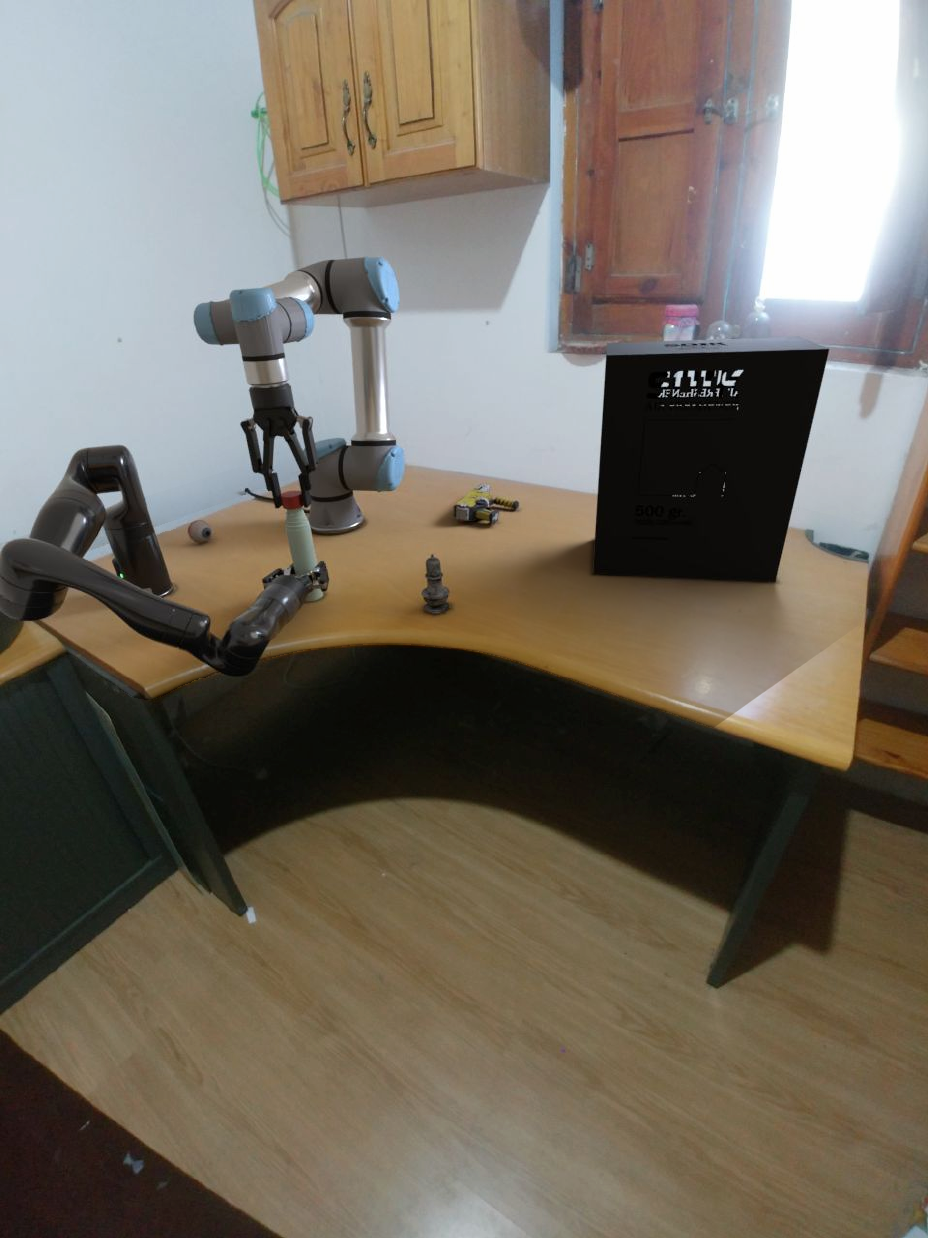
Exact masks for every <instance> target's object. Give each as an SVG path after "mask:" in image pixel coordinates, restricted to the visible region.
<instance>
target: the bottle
mask: <svg viewBox="0 0 928 1238" xmlns="http://www.w3.org/2000/svg"><path fill="white" fill-rule="evenodd" d="M303 509H304V508H303ZM303 509H302V507H301V508H298V509H286V511H285V514H286V515H285V524H284V525H285V533H286V537H287V541H288V547H289V551H290V554H291V555H290V556H291V561H292V563H293V566H294V570H295V574H296V575H299V574H300V575H301V574H302V573H304V572H306V571H307V570H313V569H315V567H316V566H317V564H318V560H317V555H316V549H315V544H314V538H313V534H312V533H313V532H312V531H311V527H310V524H309V521H308V520H309V519H308V516H307V515H306V513H304V510H303ZM315 577H316V575H315ZM323 596H324V592H322V591H321V589H314V590H313V591H312V592H310V593H309V594H308V595H307V598H306V601H305V602H306V603H307V602H309V603H310V602H315V601H319V600H320V599H322V598H323Z"/></svg>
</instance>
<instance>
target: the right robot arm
mask: <svg viewBox="0 0 928 1238" xmlns="http://www.w3.org/2000/svg"><path fill="white" fill-rule="evenodd" d="M399 305H400V289H399V285H398V280H397V278H396V275H395V272H394V269H393V268H392V266H391V264H390V263H389V261H387V260H386V259H385V258H384V257H378V256H376V257H375V256H363V257H353V258H340V259H325V260H321V261H318V262H314V263H312V264H309V265H307V266H304V267H301V268H299V269H296V270H293V271H291V272H289V273H288V274H287V275H286V276H285V277H284V278H283V279H282V280H280V281H276V282H274V283H272V284H269V285H265V286H262V287H256V288H255V287H253V288H242V289H240V288H239V289H233V290H231V291H230V293H229V298H227V299H225V300H220V301H219V300H218V301H213V300H210V301H208V302H201V303H199V304H197V305H196V306H195V308H194V310H193V325H194V327H195V331H196V333H197V335H198V337H199V338H200V340H201V341H203V342H204V343H206V344H207V345H214V346H216V345H217V346H222V347H223V346H224V345H225V346H226V345H239V350H240V353H241V360H242V365H243V369H244V375H245V380H246V383H247V384H248V385H249V386H250V387H249V389H248V392H249V397H250V403H251V406H252V409H253V413H252V417H250V418H246V419H244V420H242V421H241V422H240V423H239V425H240V427H241V430H242V431H243V433H244V435H245V440H246V445H247V449H248V454H249V459H250V464H251V470H252V472H253V473H254V474H261V475H262V476H263V479H264V482H265V488H266V490H267V492H271V496H272V497H268V496H264V495H259V494H256V493H254V492H252V491H251V490H250V488H249V487H245V488H244V493H247V494H248V495H249V496H252V497H253V498H257V499H260V500H264V501H269V502H273V504H274V505H273V506H274V508H275V509H280V508H281V507H283V504H282V499H281V494H282V491H281V486H280V485H281V484H280V481H279V476H278V472H274V452H275V451H274V449H275V439H276V437H281V438H283V439H284V441H285V443H287V445H288V447H289V450H290V452H291V454H292V456H293V459H294V460H295V462H296V464H297V467H298V468H299V471H300V473H299V474H298V476H297V478H298V483H299V488H300V491H301V494H302V499H303V504H304V506H303V508H302V509H303V510H304V513H305V514H308V519H307V520H308V521H309V524H310V527H311V533H314V534H317V535H323V536H324V535H325V536H327V535H329V536H331V535H339V534H340V535H341V534H345V533H350V532H353V531H355V530H357V529H359V528H361V527H362V526H363V525H364V523H365V519H364V514H363V512H362V508H361V507H360V506H361V505H360V504H358V501H357V500H356V498H355V495H354V492H355V491H357V492H377V493H381V492H393V491H395V490H397V489H398V487H400V485H401V482H402V481H403V478H404V474H405V469H406V468H405V467H406V454H405V451H404V448H403V447H402V446H400V445H398V444H397V437H396V436H395V435H393V433H392V432H391V425H390V403H389V380H388V379H389V378H388V357H387V355H388V354H387V333H386V331H387V328H388V327H389V326H390V325H391V323H392V314H394V313H396V312H397V311H398V310H399V307H400V306H399ZM315 315H342V321H343V323H344V324H345V325H346V326H347V327H348V329H349V336H350V351H351V352H350V353H351V366H352V383H353V385H352V386H353V399H354V401H353V402H354V414H355V415H354V416H355V433H354V434H353V435H352V436H351V438H350V445H349V444H347V441H346V439H345V438H343V437H333V438H327V439H326V438H325V439H322V440H318V441H315V438H314V432H313V424H314V417H312V416H310V415H309V416H307V417H306V416H303V415H301V414H299V413H298V411H297V409H296V407H295V401H294V396H293V390H292V385H291V384H290V383H288V381H289V380H290V374H289V370H288V364H287V363H288V362H287V359H286V354H285V347H284V345H285V344H290V343H295V342H296V343H299V342H302V341H303V340H305V339H307V338H309V337H310V335H311V334H312V333H313V332H314V328H315ZM297 423H298V425H299V428H300V429H301V434H302V439H303V444H304V448H302V446H301V443H300V441H299V439H298V435H297V432H296V429H295V427H296V424H297ZM257 426H258V427H259V428H260V430H261V431H262V442H263V445H262V454H261V449H260V444H259V438H258V433H257V430H256V429H257ZM307 508H309V509H307Z"/></svg>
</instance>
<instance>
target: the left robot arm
mask: <svg viewBox="0 0 928 1238" xmlns="http://www.w3.org/2000/svg"><path fill="white" fill-rule="evenodd" d="M117 492H118V493H119V492H120V493H121V497H122V499H121V500H119V502H116V503H114V504H112V505H110V506H108V507H105V504H104V503H103V500H102V499H101V498H100V497H99V495H100V494H108V493H117ZM102 529H103V531H104V533H105V536H106V538H107V540H108V541H107V542H108V543H109V546H110V549H111V551H112V554H113V558H112V559H111V563H112V566H113V568H114V571H115V573H116V574H115V573H113V572H112V571H110V570H107V569H105V568H103V567H102V566H100V565H98V564H95V563H93V562H91V561H90V560H88V559H86V558H84V557H85V556H86V554H87V552H88V551H89V549H90V548H91V546H92V545H93V543H94V542H95V540H96V539H97V537H98V536H99V535H100V534H99V533H100V532H101V530H102ZM315 575H316V577H315ZM261 582H262V586H263V590H262V591H261V593H259V595H258V596H257V598H256V600H255V601H254V602H253V603H252V604H251V606H249V608H248V609H247V610H246V611H244V612H242V613H241V614H239V615H237V616H235V618H233V620H232V621H231V622H230V624H229V625H228V627H227V628H226V630H225V632H224V634H223V636H222V638H220V637H218V636H216V635H215V634H214V633H213V632H212V631H211V627H212V625H211V624H212V620H211V616H209V615H208V613H205V612H203V611H201V610H199V609H196V608H195V609H194V608H193V607H190V606H188V605H184V604H181V603H178V602H176V601H173V600H170V599H168V598H165V597H166V596H168V595H170V594H171V593H172V592H173V590H174V587H175V586H174V585H173V582H172V579H171V577H170V573H169V571H168V567H167V564H166V561H165V557H164V555H163V551H162V549H161V546H160V543H159V539H158V537H157V534H156V531H155V528H154V525H153V520H152V518H151V515H150V513H149V509H148V504H147V500H146V496H145V494H144V491H143V487H142V484H141V480H140V477H139V472H138V467H137V465H136V461H135V459H134V456H133V454H132V453H131V451H130V450H129V448H128V447H127V446H125V445H123V444H109V445H100V446H99V445H98V446H89V447H84V448H80V449H78V450H77V451H75V452H74V453H73V455H72V457H71V458H70V460H69V463H68V464H67V468H66V470H65V472H64V475H63V477H62V478H61V480H60V481H59V483H58V485H56V488H55V489H54V491H53V493H51V494H50V495H49V497H48V498H47V499H46V501H45V502H44V504H43V505H42V506H41V508H40V509H39V511H38V512H37V515H36V517H35V519H34V521H33V525H32V526H31V530H30V533H29V535H28V537H22V538H15V539H12V540H10V541H8V542H6V543H5V544H4V545H3V546H2V548H1V550H0V612H1V613H2V614H4V615H5V616H6V617H8V618H10V619H14V620H16V621H22V622H35V621H41V620H44V619H47V618H49V617H51V616H53V615H54V614H56V613H57V612H58V611H59V610H60V609H61V608H62V606H63V605H64V604H65V600H66V597H67V595H68V591H69V588H71V589H73V590H77V591H78V592H81V593H83V594H86V595H88V596H90V597H92V598H93V599H95V600H97V601H98V602H99V603H101V604H102V605H104V606H105V607H107V608H108V609H109V610H110V611H111V612H113V613H114V614H115V615H116V616H117V617H118V618H119V619H120V620H121V621H122V622H123V623H124V624H125V625H127V626H128V627H129V628H130V629H131V630H132V631H134V632H135V633H137V634H139V635H140V636H142V637H144V638H146V639H148V640H150V641H153V642H155V643H159V644H162V645H164V646H166V647H167V646H168V647H171V648H173V649H178V650H180V651H183V652H185V653H188V654H189V655H191V656H192V657H194V658H195V659H197V660H198V661H200V662H201V663H203V664H205V665H207V666H208V667H210V668H212V669H213V670H215V671H216V672H218V673H220V674H222V675H225V676H228V677H234V678H240V677H241V678H242V677H246V676H248V675H250V674H251V673H253V671H255V669H256V666H258V663H259V661H260V659H261V658H262V656H263V654H264V653H265V650H266V649H267V647H268V646H269V644H270V643H271V641H272V640H274V639H275V638H277V637H278V636H279V634H280V633H281V632H282V630H283V629H284V627H286V625H287V624H288V623H290V622H291V621H292V620H293V619H294V617H295V616H296V615H297V613H298V612H299V610H301V607H303V605H304V604H305V602H306V598H307V595H308V594H309V593H310V592H312V591H313V590H314V589H321V591H322V592H323V593H325V592H327V591H328V588H329V584H330V577H329V571H328V568H327V564H326V562H325V560H320V561H318V562H317V566H316V567H315V569H313V570H307V571H306V572H304V573H302V574H301V575H300V574H299V575H296V574H295V570H294V566H293V562H292V563H291V564H290V565H289V566H287V567H285V568H284V569H282V567H279V568H276V569H274V570H273V571H271V572H270V573H268V574H267V575H266V576H264V577H263V578H262V579H261Z"/></svg>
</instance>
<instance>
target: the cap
mask: <svg viewBox="0 0 928 1238" xmlns="http://www.w3.org/2000/svg"><path fill="white" fill-rule="evenodd" d="M281 499H282V504H283V505H282V508H283V509H284V510H287V509H298V508H301V507H303V508H304V504H303V499H302V494H301V490H288V491H284V492H281Z"/></svg>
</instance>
